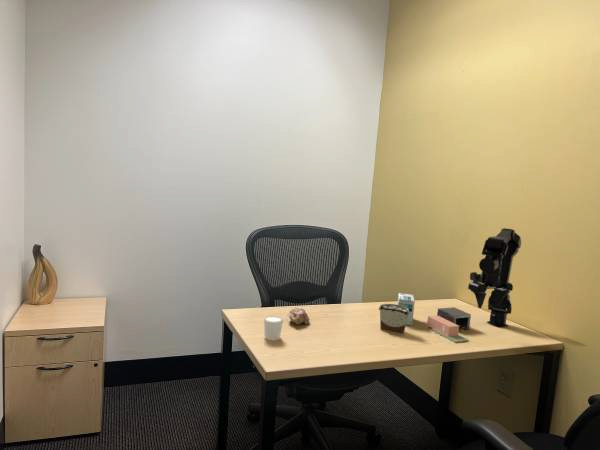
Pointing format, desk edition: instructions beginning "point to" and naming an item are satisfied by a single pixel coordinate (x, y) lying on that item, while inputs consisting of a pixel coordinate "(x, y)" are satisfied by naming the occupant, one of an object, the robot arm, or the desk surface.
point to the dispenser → (455, 316)
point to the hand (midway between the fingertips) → (488, 307)
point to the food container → (393, 318)
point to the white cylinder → (272, 327)
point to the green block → (452, 337)
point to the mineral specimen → (298, 316)
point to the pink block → (443, 325)
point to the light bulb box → (407, 305)
